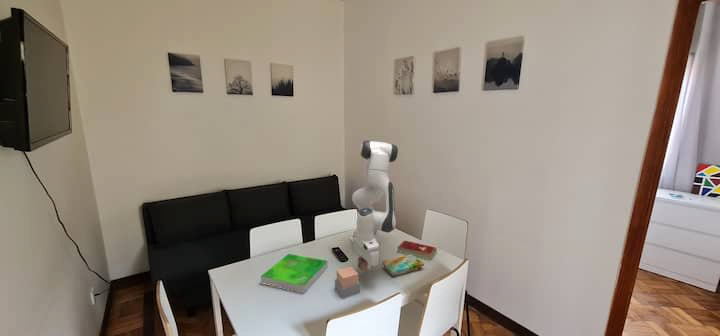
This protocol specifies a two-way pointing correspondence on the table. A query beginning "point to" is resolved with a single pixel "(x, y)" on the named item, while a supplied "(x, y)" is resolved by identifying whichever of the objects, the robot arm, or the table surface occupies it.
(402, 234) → the table surface
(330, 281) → the table surface
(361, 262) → the walnut block
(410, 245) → the hardcover book
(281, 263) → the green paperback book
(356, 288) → the tower base
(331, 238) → the table surface
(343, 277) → the block
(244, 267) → the table surface
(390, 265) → the puzzle game
